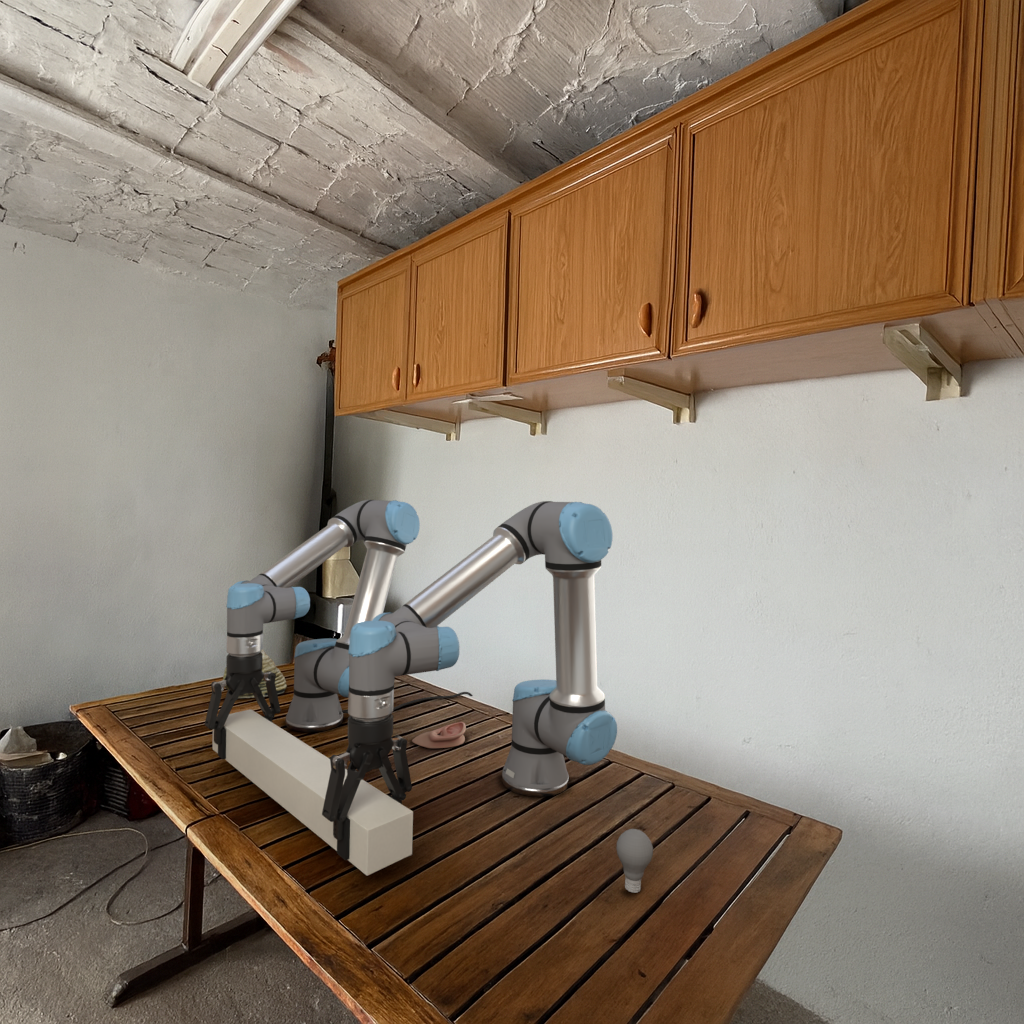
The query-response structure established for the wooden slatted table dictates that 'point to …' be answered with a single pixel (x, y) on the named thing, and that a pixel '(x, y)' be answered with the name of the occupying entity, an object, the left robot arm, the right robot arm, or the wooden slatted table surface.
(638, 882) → the light bulb
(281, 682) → the fossil
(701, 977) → the wooden slatted table surface
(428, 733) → the anatomical model
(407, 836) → the long square beam
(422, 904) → the wooden slatted table surface
